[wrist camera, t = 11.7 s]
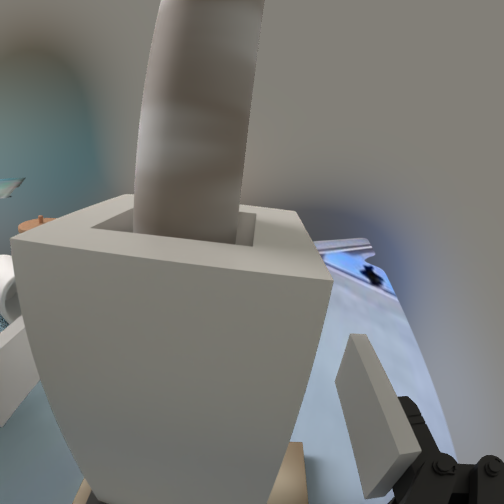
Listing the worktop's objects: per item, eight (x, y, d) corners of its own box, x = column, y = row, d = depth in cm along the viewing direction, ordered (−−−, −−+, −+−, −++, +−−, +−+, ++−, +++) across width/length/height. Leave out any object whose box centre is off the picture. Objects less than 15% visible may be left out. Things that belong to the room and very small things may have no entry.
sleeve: (98, 500, 9) (9, 238, 5) (138, 405, 16) (125, 194, 12) (254, 531, 9) (333, 280, 5) (258, 425, 16) (295, 211, 12)
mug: (25, 295, 41) (19, 249, 39) (52, 318, 37) (44, 265, 35) (-33, 317, 31) (-44, 267, 28) (-15, 347, 27) (-31, 290, 24)
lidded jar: (75, 258, 59) (73, 215, 56) (34, 272, 49) (29, 224, 46) (51, 247, 63) (49, 208, 60) (14, 258, 53) (10, 216, 50)
